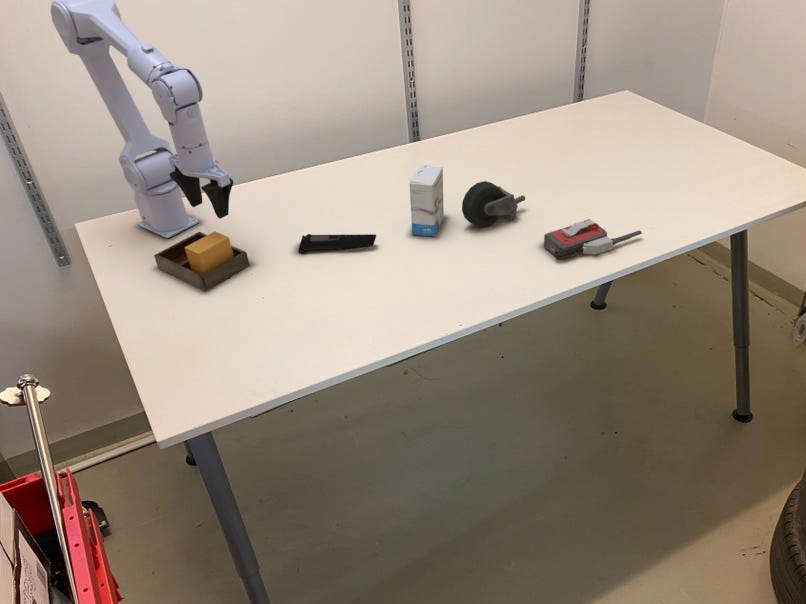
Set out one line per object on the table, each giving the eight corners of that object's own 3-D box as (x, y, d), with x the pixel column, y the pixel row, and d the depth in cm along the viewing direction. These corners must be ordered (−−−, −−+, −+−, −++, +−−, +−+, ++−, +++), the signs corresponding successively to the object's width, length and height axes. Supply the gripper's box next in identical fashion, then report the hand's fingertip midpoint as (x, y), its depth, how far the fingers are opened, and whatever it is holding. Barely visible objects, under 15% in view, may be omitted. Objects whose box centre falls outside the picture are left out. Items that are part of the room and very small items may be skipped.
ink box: (435, 237, 147) (432, 184, 139) (411, 235, 148) (407, 182, 140) (445, 217, 153) (443, 165, 146) (422, 215, 154) (419, 163, 146)
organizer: (158, 268, 139) (153, 255, 137) (203, 244, 146) (199, 231, 144) (205, 291, 133) (201, 278, 131) (249, 265, 140) (246, 252, 138)
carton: (193, 274, 136) (184, 247, 132) (222, 258, 141) (214, 231, 137) (206, 281, 134) (198, 253, 131) (236, 264, 139) (228, 237, 135)
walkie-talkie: (561, 268, 138) (643, 240, 145) (563, 248, 135) (646, 221, 143) (536, 247, 144) (616, 221, 151) (537, 227, 141) (619, 202, 148)
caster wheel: (475, 239, 148) (532, 211, 154) (471, 198, 141) (530, 171, 147) (460, 228, 152) (516, 201, 157) (454, 187, 145) (513, 161, 151)
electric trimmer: (376, 253, 143) (375, 239, 141) (298, 254, 143) (295, 240, 141) (378, 243, 146) (376, 229, 144) (301, 244, 145) (298, 230, 143)
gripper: (236, 144, 128) (252, 212, 136) (183, 125, 134) (202, 191, 143) (203, 158, 123) (222, 228, 132) (151, 138, 130) (172, 206, 139)
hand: (210, 210), depth 137 cm, fingers open, 7 cm apart
